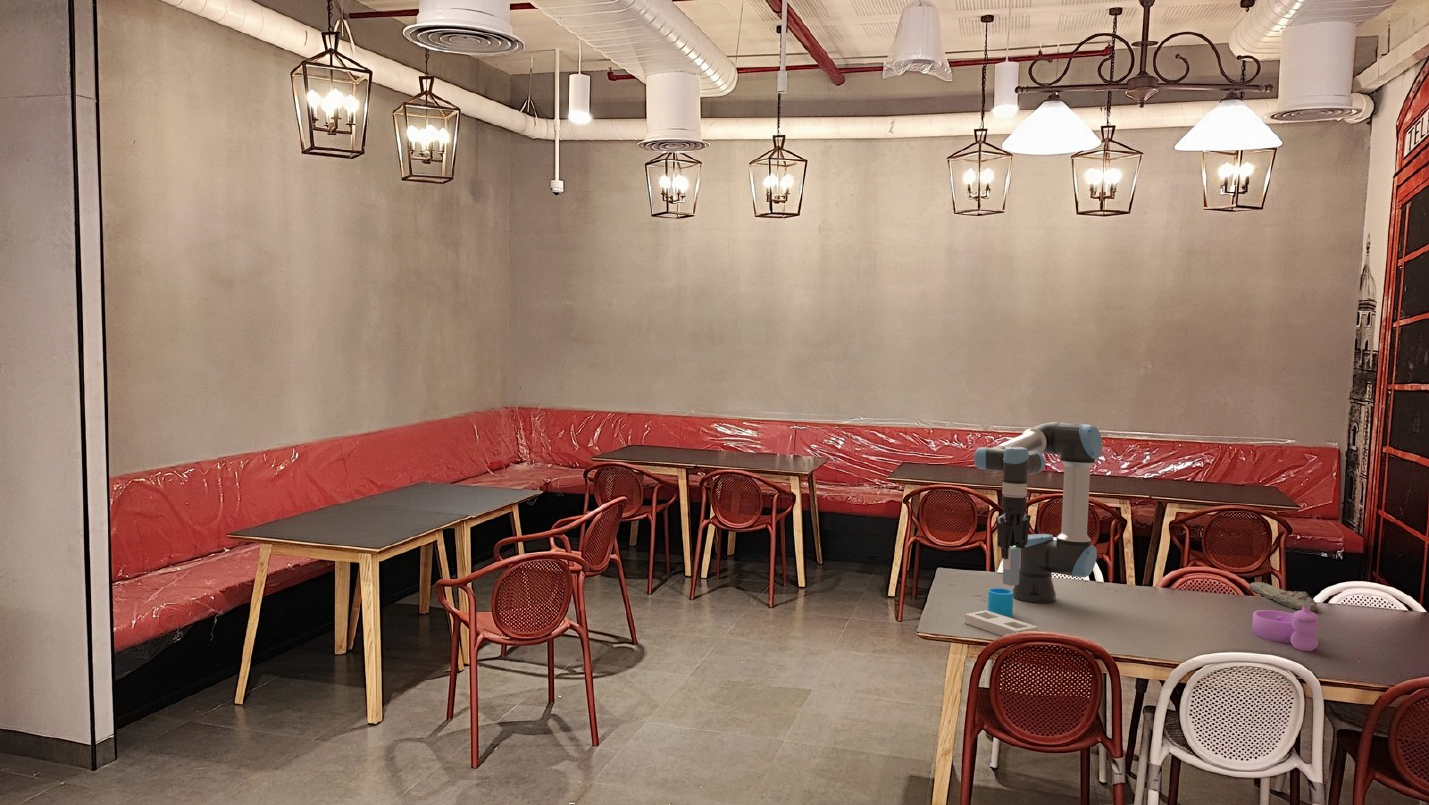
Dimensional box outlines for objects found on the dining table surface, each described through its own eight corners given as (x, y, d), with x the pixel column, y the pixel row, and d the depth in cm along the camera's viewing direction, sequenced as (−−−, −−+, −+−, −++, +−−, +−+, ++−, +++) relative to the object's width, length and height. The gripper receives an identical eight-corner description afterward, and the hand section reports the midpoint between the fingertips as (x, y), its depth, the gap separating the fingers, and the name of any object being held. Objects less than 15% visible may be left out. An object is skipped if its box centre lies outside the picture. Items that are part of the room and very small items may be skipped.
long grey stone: (1266, 592, 393) (1241, 593, 393) (1266, 578, 393) (1241, 580, 393) (1326, 612, 358) (1298, 613, 358) (1325, 597, 358) (1298, 598, 358)
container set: (1243, 628, 337) (1245, 589, 336) (1288, 629, 337) (1291, 590, 336) (1286, 652, 312) (1288, 610, 311) (1335, 653, 312) (1338, 610, 312)
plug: (1010, 582, 329) (1012, 546, 328) (1018, 584, 326) (1020, 548, 325) (1002, 583, 327) (1004, 547, 326) (1010, 585, 324) (1012, 549, 323)
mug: (1011, 619, 344) (1012, 595, 343) (986, 616, 346) (987, 592, 346) (1013, 610, 355) (1014, 587, 354) (989, 607, 358) (990, 584, 357)
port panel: (964, 623, 338) (964, 613, 337) (986, 619, 343) (986, 609, 343) (1015, 640, 319) (1016, 630, 319) (1037, 636, 324) (1038, 626, 324)
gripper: (1023, 492, 332) (1020, 563, 333) (986, 495, 324) (983, 568, 325) (1041, 496, 325) (1038, 568, 327) (1004, 499, 317) (1001, 573, 319)
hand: (1011, 568), depth 326 cm, fingers closed on plug, 3 cm apart
